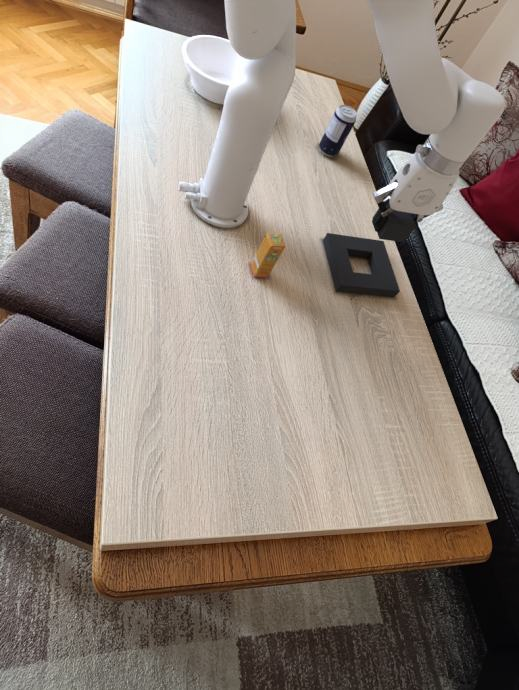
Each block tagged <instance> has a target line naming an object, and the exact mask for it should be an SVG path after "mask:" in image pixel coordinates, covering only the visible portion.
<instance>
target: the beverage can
mask: <svg viewBox="0 0 519 690" xmlns="http://www.w3.org/2000/svg"><path fill="white" fill-rule="evenodd" d="M357 116H358V113H357V111H356V110H355V108H353V107H351V106H350V105H348V104H341V105H339V106H338V107H337V108H335V111H334V113H333V115H332V117H331V119H330V121H329V123H328V124H327V127H326V129H325V131H324V133H323V135H322V137H321V140H320V141H319V144H318V146H319V149H320V152H321V153H322V154H323V155H324V156H327V157H328V158H329V157H331V158H332V157H335V156H338V155H339V153H340V152H341V150H342V148H343V146H344V144H345V143H346V140H347V138H348V137H349V135H350V133H351V131H352V129H353V127H354V125H355V123H356V122H357Z"/></svg>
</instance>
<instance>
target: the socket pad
mask: <svg viewBox="0 0 519 690" xmlns="http://www.w3.org/2000/svg"><path fill="white" fill-rule="evenodd" d="M322 244H323V248H324V252H325V255H326V259H327V264H328V267H329V270H330V275H331V279H332V282H333V288H334V292H335V293H339V294H351V295H360V296H370V297H371V296H372V297H379V298H380V297H382V298H390V299H395V298H396V297H397V296H398V295H399V293H400V292H401V291H400V287H399V283H398V280H397V278H396V275H395V272H394V269H393V266H392V262H391V260H390V256H389V253H388V250H387V247H386V244H385V241H384V240H381V239H372V238H366V237H357V236H350V235H344V234H337V233H332V232H331V233H330V232H327V233H326V234H325V235H324V237H323V239H322ZM351 258H356V259H357V258H358V259H362V260H363V259H364V260H367V262H368V266H369V269H370V272H371V273H366V272H365V273H364V272H355V271H354V270H353V266H352V262H351Z"/></svg>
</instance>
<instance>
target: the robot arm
mask: <svg viewBox="0 0 519 690" xmlns="http://www.w3.org/2000/svg"><path fill="white" fill-rule="evenodd" d="M223 2H224V13H225V29H226V33H227V39H228V40H229V41H230V43H231V46H232V47H233V49H234V50H235V52H236V53H238V54H239V55H240V56H241V57H243V58H245V60H244V62H243V64H242V65H241V66H240V68H239V69H238V71H237V73H236V74H235V76H234V78H233V79H232V81H231V83H230V85H229V88H228V90H227V93H226V96H225V101H224V105H223V107H222V111H221V117H220V121H219V125H218V128H217V132H216V136H215V139H214V143H213V146H212V150H211V154H210V157H209V161H208V164H207V168H206V171H205V175H204V178H203V177H200V178H199V181H198V182H193V183H189V182H186V181H181V180H180V181H179V182H178V184H177V185H178V186H177V190H178V191H179V192H185V193H184V199H185V200H190V204H191V208H192V210H193V211H194V213H195V214H196V215H197V217H199V219H201V220H203V221H204V222H205V223H207V224H209V225H211V226H214V227H218V228H223V229H232V228H236V227H239V226H240V225H242V224H244V223H245V221H246V220H247V217H248V215H249V205H248V202H247V198H248V195H249V192H250V190H251V187H252V185H253V182H254V179H255V177H256V174H257V172H258V170H259V167H260V164H261V162H262V159H263V156H264V154H265V151H266V149H267V147H268V146H267V145H268V143H269V140H270V138H271V135H272V133H273V131H274V128H275V126H276V123H277V120H278V119H279V116H280V114H281V111H282V108H283V106H284V104H285V102H286V100H287V98H288V95H289V92H290V91H291V88H292V86H293V83H294V79H295V77H296V76H295V75H296V67H297V66H296V65H297V64H296V63H297V3H296V0H224V1H223ZM366 3H367V6H368V7H369V10H370V13H371V16H372V19H373V24H374V28H375V33H376V39H377V41H378V44H379V46H380V50H381V54H382V58H383V62H384V66H385V70H386V73H387V76H388V80H389V82H390V86H391V89H392V91H393V94H394V97H395V99H396V102H397V104H398V106H399V108H400V112H401V113H402V117H403V119H404V120H405V121H406V122H405V123H406V124H407V125H408V126H409V128H411V129H412V130H413V131H415V132H416V133H418V134H421V135H429V136H428V137H427V138H426V140H425V142H424V143H423V144H417V146H416V148H415V152H414V153H413V154H412V155H411V156H410V157H409V158H408V159H407V160H406V162H405V163H404V164H403V165H402V166H401V167H400V169H399V170H398V171H397V173H395V175H394V176H393V177H392V179H391V180H390V182H389V184H388V185H386V186H384V187H382V188H380V189H377V190H376V191H374V192H373V193H372V195H373V199H374V201H375V202H376V204H377V206H378V209H379V210H378V209H377V210H378V212H377V211H376V212H377V213H376V212H375V213H376V215H375V214H374V215H375V216H374V215H373V216H374V217H373V216H372V220H371V224H372V227H373V229H374V232H375V233H377V232H379V231H380V229H381V228H382V226H383V225H384V224H385V222H386V221H387V219H388V217H387V216H388V215H389V214H390V213H391V212H392V211H394V210H396V211H402V212H407V213H411V215H412V218H413V220H414V223H415V225H417V223H421V222H423V220H424V219H425V218H427V217H430V216H432V215H434V214H435V213H438V212H440V211H442V210H444V204H443V203H444V202H445V200H446V199H447V197H448V196H449V195H450V193H451V191H452V189H453V188H454V186H455V185H456V182H457V180H458V178H459V176H460V169H461V167H462V166H463V165H464V164H465V162H466V161H467V160H468V158H469V157H470V156H471V155H472V154H473V152H474V151H475V150H476V148H477V147H478V146H479V145H480V143H481V142H482V141H483V140H484V138H485V137H486V135H487V134H488V133H489V132H490V131H491V129H492V128H493V127H494V125H495V124H496V123H497V122H498V120H499V119H500V117H502V115H503V114H504V111H505V108H506V100H505V98H504V96H503V95H502V94H501V93H500V91H498V89H496V88H495V87H494V86H492V85H491V84H488V83H486V82H483V81H481V80H476V79H475V78H473V77H472V76H470V75H469V74H468V73H466V72H465V71H464V70H463V69H461V68H460V67H459V66H458V65H456V64H455V63H453V62H452V61H451V60H449V59H447V58H445V57H442V55H441V50H440V45H439V41H438V36H437V29H436V19H435V0H366ZM178 191H177V192H178ZM388 204H390V206H389V207H387V208H386V206H387V205H388Z"/></svg>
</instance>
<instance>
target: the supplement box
mask: <svg viewBox="0 0 519 690" xmlns="http://www.w3.org/2000/svg"><path fill="white" fill-rule="evenodd" d="M285 248H286V243H285V240H284V237H283V233H270V232H269V233H268V232H267V233H266V234H265V236H264V238H263V240H262V241H261V244H260V246H259V248H258V249H257V251H256V253H255V255H254V257H253V259H252V260H251V261H252V262H251V263H250V267H251V271H252V274H253V278H268V277H269V276H270V274H271V272H272V271H273V269H274V268H275V266H276V265H277V262H278V260H279V259H280V257H281V256H282V254H283V252H284V250H285Z"/></svg>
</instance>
